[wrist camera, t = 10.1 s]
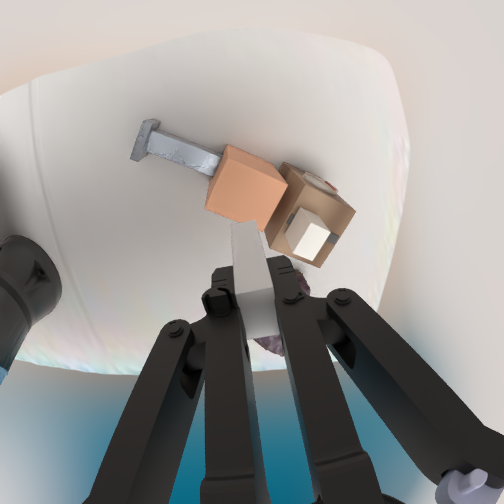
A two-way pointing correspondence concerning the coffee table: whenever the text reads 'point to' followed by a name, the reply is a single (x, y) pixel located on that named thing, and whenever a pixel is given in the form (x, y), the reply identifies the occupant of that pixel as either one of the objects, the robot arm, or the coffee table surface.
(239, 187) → the block
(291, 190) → the cabinet
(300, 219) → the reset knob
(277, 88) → the coffee table surface
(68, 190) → the coffee table surface
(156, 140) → the rail
